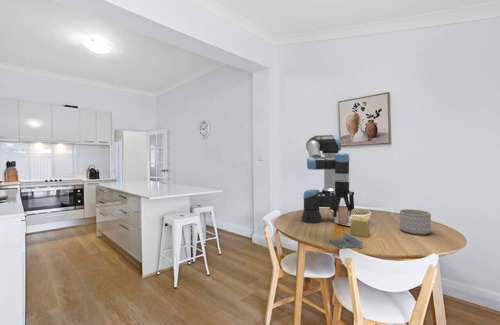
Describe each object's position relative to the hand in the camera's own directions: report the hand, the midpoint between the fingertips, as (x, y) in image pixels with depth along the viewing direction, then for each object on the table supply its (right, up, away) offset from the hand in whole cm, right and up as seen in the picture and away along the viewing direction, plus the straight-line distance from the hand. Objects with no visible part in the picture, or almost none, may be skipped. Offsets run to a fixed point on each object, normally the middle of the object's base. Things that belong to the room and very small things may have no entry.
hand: (342, 222), depth 136 cm
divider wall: (+7, -12, +1) cm, 14 cm away
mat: (0, -12, 0) cm, 12 cm away
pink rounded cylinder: (0, 0, 0) cm, 0 cm away
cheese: (+18, -12, +17) cm, 28 cm away
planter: (+55, -11, +21) cm, 60 cm away
